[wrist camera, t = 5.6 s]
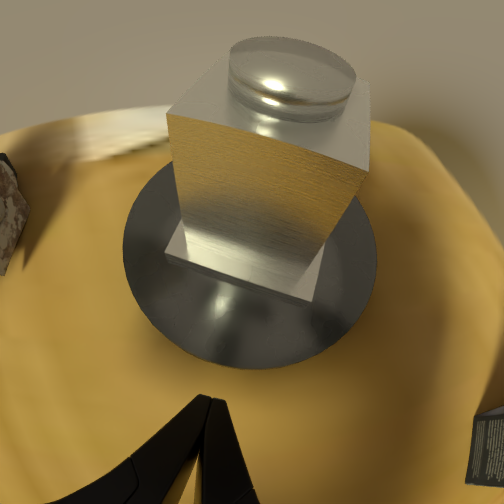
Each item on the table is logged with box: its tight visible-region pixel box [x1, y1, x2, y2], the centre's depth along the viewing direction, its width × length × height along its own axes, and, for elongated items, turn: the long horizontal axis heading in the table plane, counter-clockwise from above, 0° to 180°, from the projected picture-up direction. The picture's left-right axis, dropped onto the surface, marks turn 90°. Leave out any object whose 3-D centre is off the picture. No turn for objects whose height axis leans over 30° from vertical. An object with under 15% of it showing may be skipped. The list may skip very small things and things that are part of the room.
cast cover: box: [165, 36, 370, 309], centre depth 12 cm, size 8×8×10 cm
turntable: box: [123, 161, 377, 370], centre depth 17 cm, size 15×15×2 cm
